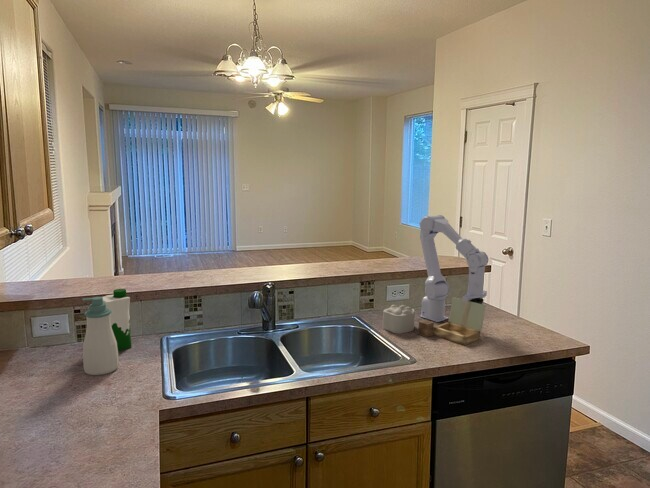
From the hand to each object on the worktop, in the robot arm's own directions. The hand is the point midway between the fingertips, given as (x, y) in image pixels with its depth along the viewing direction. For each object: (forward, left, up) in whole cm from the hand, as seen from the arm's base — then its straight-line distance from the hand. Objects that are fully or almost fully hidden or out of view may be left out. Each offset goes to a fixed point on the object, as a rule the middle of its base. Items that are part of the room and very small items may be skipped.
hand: (473, 316), depth 182 cm
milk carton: (-68, -114, -6) cm, 133 cm away
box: (0, -11, -6) cm, 13 cm away
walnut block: (-9, -18, -6) cm, 21 cm away
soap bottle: (-53, -123, -6) cm, 134 cm away
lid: (0, -5, +2) cm, 6 cm away
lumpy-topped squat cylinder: (-20, -20, -6) cm, 29 cm away
